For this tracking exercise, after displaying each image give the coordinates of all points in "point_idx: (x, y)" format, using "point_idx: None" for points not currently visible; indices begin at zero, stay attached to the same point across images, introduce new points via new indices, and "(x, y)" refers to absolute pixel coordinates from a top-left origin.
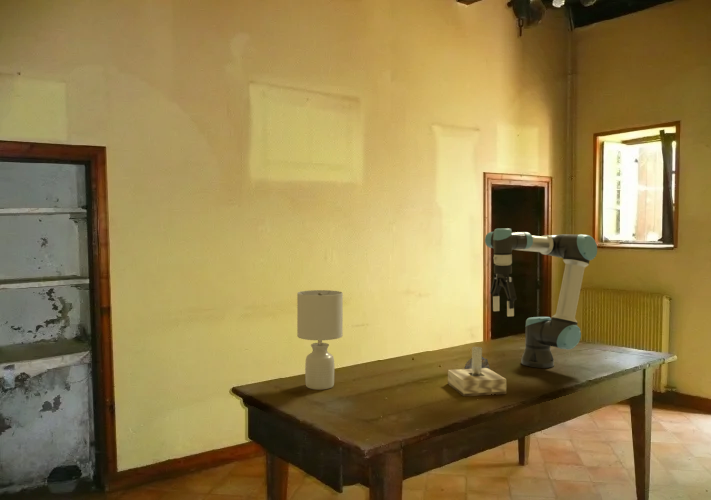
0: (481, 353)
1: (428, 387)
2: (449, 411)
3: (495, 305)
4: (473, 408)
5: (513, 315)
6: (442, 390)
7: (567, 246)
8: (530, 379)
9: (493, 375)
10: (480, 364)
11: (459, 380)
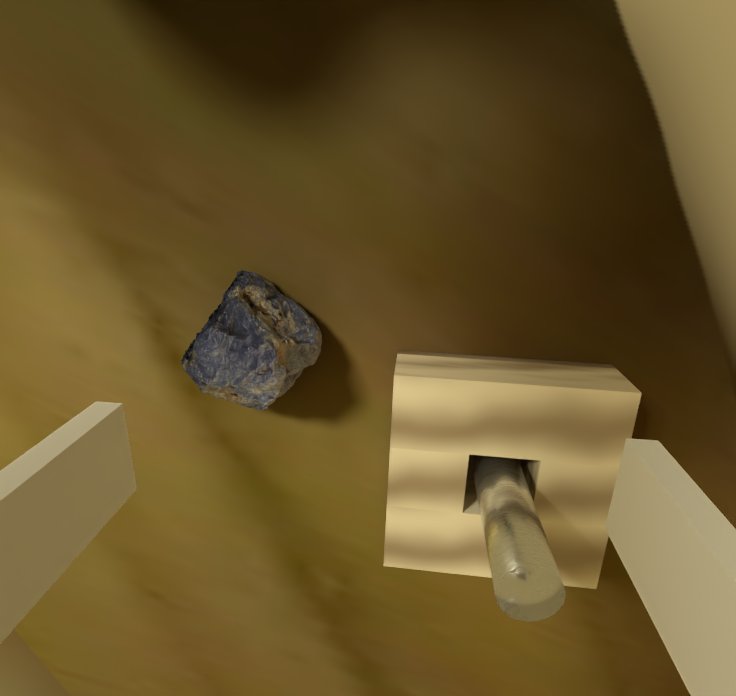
0: (551, 554)
1: (418, 602)
2: None
3: (73, 527)
4: None
5: (660, 453)
6: None
7: None
8: (408, 91)
9: (550, 420)
10: (537, 515)
11: None
